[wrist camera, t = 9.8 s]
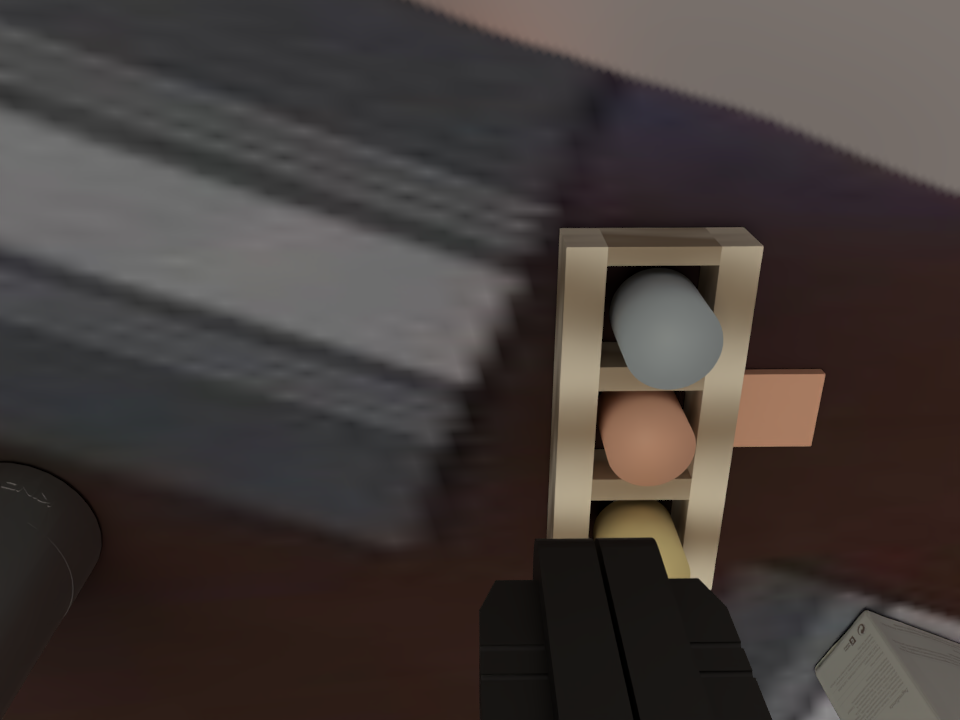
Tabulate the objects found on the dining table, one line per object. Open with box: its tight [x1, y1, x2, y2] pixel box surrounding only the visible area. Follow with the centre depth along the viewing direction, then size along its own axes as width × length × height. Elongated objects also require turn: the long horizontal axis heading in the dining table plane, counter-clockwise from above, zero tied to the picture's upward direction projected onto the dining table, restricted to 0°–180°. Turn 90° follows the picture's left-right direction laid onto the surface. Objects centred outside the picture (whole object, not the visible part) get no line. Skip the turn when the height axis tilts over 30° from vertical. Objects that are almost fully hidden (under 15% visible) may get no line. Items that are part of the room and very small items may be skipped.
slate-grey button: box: [609, 268, 723, 390], centre depth 39 cm, size 4×4×4 cm
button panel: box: [547, 227, 764, 590], centre depth 44 cm, size 20×9×3 cm, turn 0°
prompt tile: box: [733, 369, 825, 447], centre depth 45 cm, size 4×4×1 cm
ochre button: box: [593, 500, 690, 578], centre depth 44 cm, size 4×4×4 cm
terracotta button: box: [596, 391, 696, 486], centre depth 43 cm, size 4×4×4 cm
